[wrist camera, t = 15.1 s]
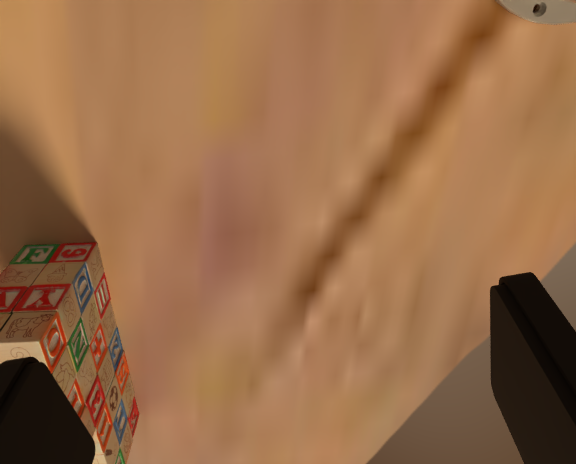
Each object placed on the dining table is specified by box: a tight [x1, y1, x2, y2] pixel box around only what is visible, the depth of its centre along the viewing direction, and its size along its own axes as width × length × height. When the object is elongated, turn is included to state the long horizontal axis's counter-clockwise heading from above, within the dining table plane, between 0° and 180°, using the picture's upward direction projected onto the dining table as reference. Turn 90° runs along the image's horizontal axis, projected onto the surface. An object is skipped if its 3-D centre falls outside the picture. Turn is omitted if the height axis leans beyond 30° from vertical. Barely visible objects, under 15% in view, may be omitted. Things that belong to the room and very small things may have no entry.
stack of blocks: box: [0, 242, 139, 464], centre depth 42 cm, size 21×6×12 cm, turn 1°
